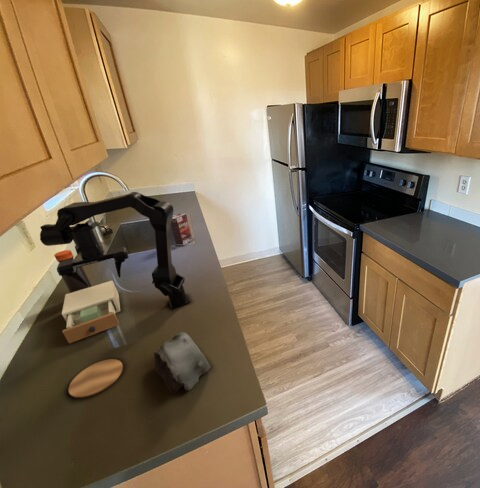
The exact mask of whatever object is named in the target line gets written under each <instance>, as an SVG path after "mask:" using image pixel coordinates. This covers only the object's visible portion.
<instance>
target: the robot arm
mask: <svg viewBox="0 0 480 488" xmlns="http://www.w3.org/2000/svg"><path fill="white" fill-rule="evenodd" d="M128 208H132V209H134V210H135V211H136V212H137V213H139V214H140V215H141V216H144V217H146V218H147V219H148V220H149V221H148V222H149V224H150V226H151V227H152V229H153V230H154V240H155V250H156V262H157V263H156V264H157V265H156V267H155V268H154V270H153V271H152V272H151V278H152V282H151V284H152V285H153V286H154V288H155V289H157V290H158V291H159V292H161V294H162V295H163V296H164V297H168V303H169V306H170V309H171V310H174V309H177V308H180V307H182V306H184V305H187V304H190V303H191V301H190V299H189V297H188V295H187V293H186V291H185V288H184V283H185V281H186V280H185V279H186V278H185V276H182V275H180V274H179V273H177V271H176V268H175V266H174V265H173V262H172V261H173V259H172V245H171V244H172V243H171V229H170V228H171V221H172V217H174V216H173V215H174V207H173V205H172V204H170V203H169V202H167V201H165V200H160V199H158V198H156V197H151V196H147V195H145V194H142V193H140V192H138V191H132V192H130V193H127V194H122V195H118V196H114V197H109V198H105V199H101V200H97V201H77V202H72V203H70V204H68V205H65V206H63V207H61V208H59V209H58V210H57V213H56V216H57V218H56V222H55V223H53V224H50V223H47V224H46V223H45V224H42V225H41V226H40V233H39V241H40V242H41V243H42V245H44V246H48V247H50V246H51V247H52V246H63V245H68V244H72V242H73V243H74V249H75V252H76V254H77V255H79V256H80V258H81V260H78V261H77V262H75V261H74V260H73V259H71V260H66V261H62V262H60V263H59V262H58V264H57V266H58V267H56V272H57V274H58V275H59V276H60V277H62V276H63V275H66V277H68V276H71V277H73V278H74V279H76V280H78V281H80V282H81V283H82V284H84V285H85V286H87V287H88V286H89V285H88V282H87V281H86V279H85V277H84V276H83V274H82V273H81V271H80V269H79V267H81V266H82V267H85V266H88V265H92V264H96V263H100V262H105V261H109V260H112V259H114V266H115V270H116V274H117V276H118V278H121V269H122V263H124V262H126V260H127V259H129V252H128V249H127V248H126V247H125V246H121V247H117V248H113V249H112V250H111V251H112V252H110V253H106V254H105V251H104V249H103V246H102V244H101V243H100V242H99V241H98V238H97V236H96V233H95V231H94V229H95V228H97V227H98V226H99V225H100V224H99V223H98V222H95V221H92V220H91V219H90V218H93V217H95V216H99V215H102V214H103V215H104V214H107V213H111V212H115V211H119V210H123V209H128ZM86 220H87V221H86ZM84 221H85V222H84Z"/></svg>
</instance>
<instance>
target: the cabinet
mask: <svg viewBox="0 0 480 488" xmlns="http://www.w3.org/2000/svg"><path fill="white" fill-rule="evenodd" d="M91 286H92V287H89V288H85V289H82V290H79V291H75V292H72V293H70V292H69V293H65V294H64V299H63V305H62V310H61V315H62V317H63V319H64V321H65V323H67V319H68V314H70V313H73V312H76V311H79V310H82V309H85V308H88V307H91V306H94V305H97V304H100V303H103V302H106V301H109V300H112V301H113V303H114V305H115V314H118V313H120V312H121V303H120V296H119V292H118V290H117V288H116V285H115V283H114V281H113V280H109V281H106V282H102V283H99V284H96V285H91Z"/></svg>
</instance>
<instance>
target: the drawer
mask: <svg viewBox="0 0 480 488" xmlns="http://www.w3.org/2000/svg"><path fill="white" fill-rule="evenodd" d="M94 306H97V307H98V309H99V311H100V313H101V315H102V316H101V317H99V318H96V319H93V320H90V321H87V322H84V323H83V322H82V321H81V319H80V313H81V311H82V310H85V309H88V308H91V307H94ZM94 306H91V307H88V308H85V309H82V310H79V311H76V312H73V313H70V314H68V319H67V322H66V326H65V327H66V328H64V329H62V334H63V336H64V338H65V339H66V341H67V343H68V344H72V343H75V342H78V341H80V340H83V339H86V338H88V337H90V336H93V335H96V334H98V333H99V334H100V333H101V332H104V331H106V330H110V329H112V328H115V327H117V326H120V322H119V320H118V317H117V316H116V314H117V313H115V305H114V303H113V301H112V300H109V301H106V302H103V303H100V304H97V305H94Z"/></svg>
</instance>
